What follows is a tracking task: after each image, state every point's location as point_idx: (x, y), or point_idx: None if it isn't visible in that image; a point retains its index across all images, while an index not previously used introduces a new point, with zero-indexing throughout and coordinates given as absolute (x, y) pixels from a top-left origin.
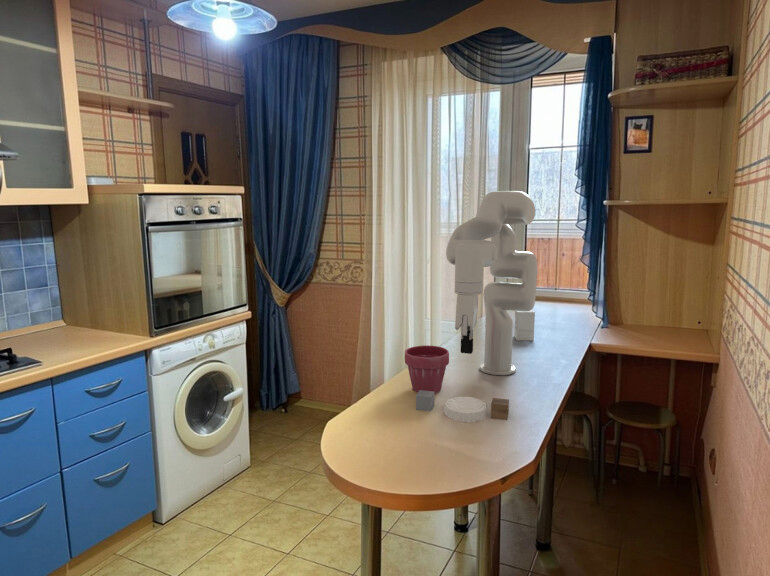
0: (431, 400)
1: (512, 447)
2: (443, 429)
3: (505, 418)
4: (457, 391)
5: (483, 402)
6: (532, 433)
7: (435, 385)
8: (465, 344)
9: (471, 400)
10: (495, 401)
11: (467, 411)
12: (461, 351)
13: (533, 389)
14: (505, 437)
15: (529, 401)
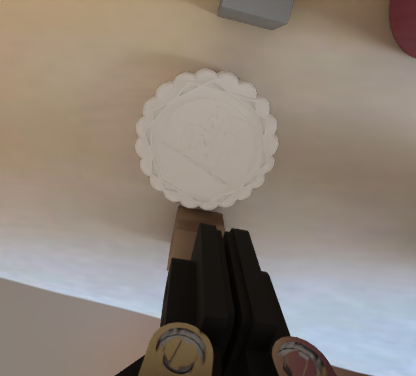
0: (224, 10)
1: (9, 237)
2: (71, 60)
3: (171, 241)
4: (399, 122)
5: (221, 203)
6: (101, 285)
7: (407, 33)
8: (163, 313)
9: (231, 168)
10: (193, 241)
11: (141, 149)
12: (199, 231)
13: (377, 320)
14: (62, 228)
15: (296, 302)
